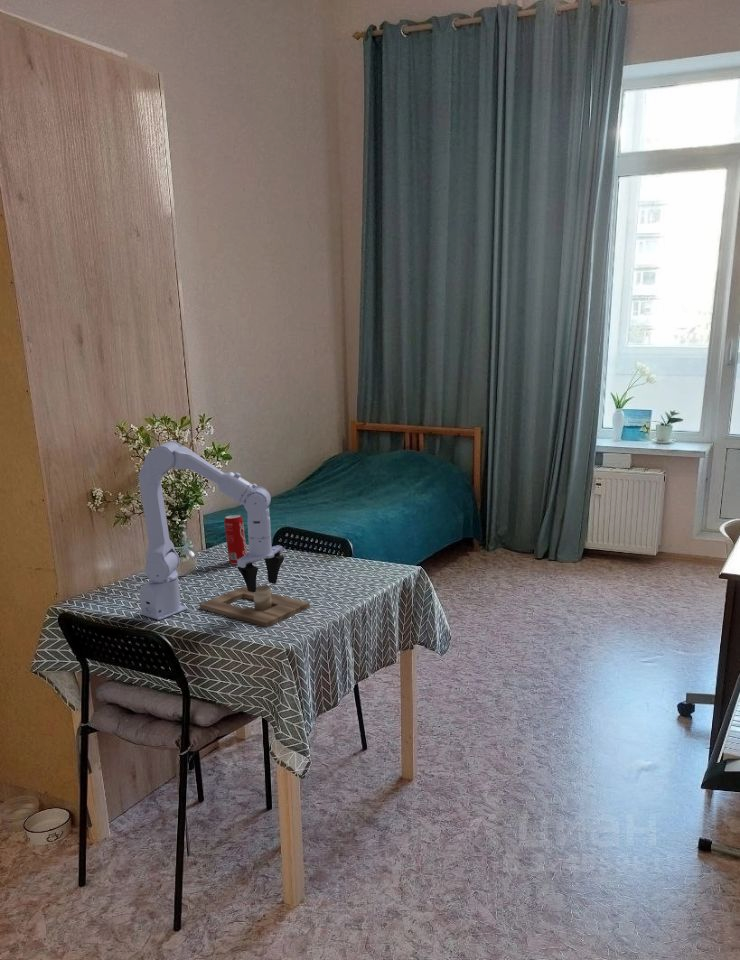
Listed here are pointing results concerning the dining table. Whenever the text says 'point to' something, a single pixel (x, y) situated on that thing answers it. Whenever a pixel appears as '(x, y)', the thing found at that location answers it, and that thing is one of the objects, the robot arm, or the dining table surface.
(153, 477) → the robot arm
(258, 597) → the birch peg
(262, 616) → the keyhole plate
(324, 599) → the dining table surface
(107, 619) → the dining table surface
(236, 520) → the beverage can
